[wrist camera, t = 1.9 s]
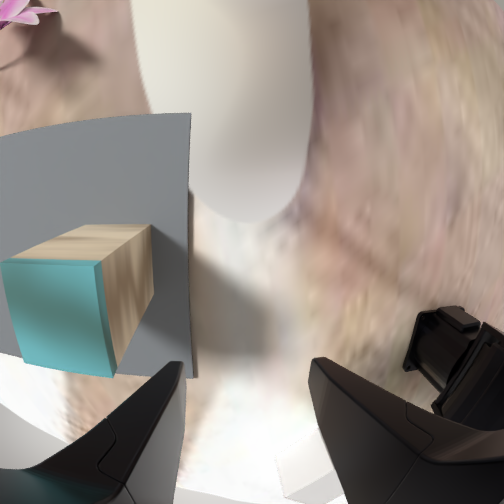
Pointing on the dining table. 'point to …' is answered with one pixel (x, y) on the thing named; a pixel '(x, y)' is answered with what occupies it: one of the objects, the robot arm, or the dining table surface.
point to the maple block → (80, 296)
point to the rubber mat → (107, 212)
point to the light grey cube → (308, 471)
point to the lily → (19, 12)
